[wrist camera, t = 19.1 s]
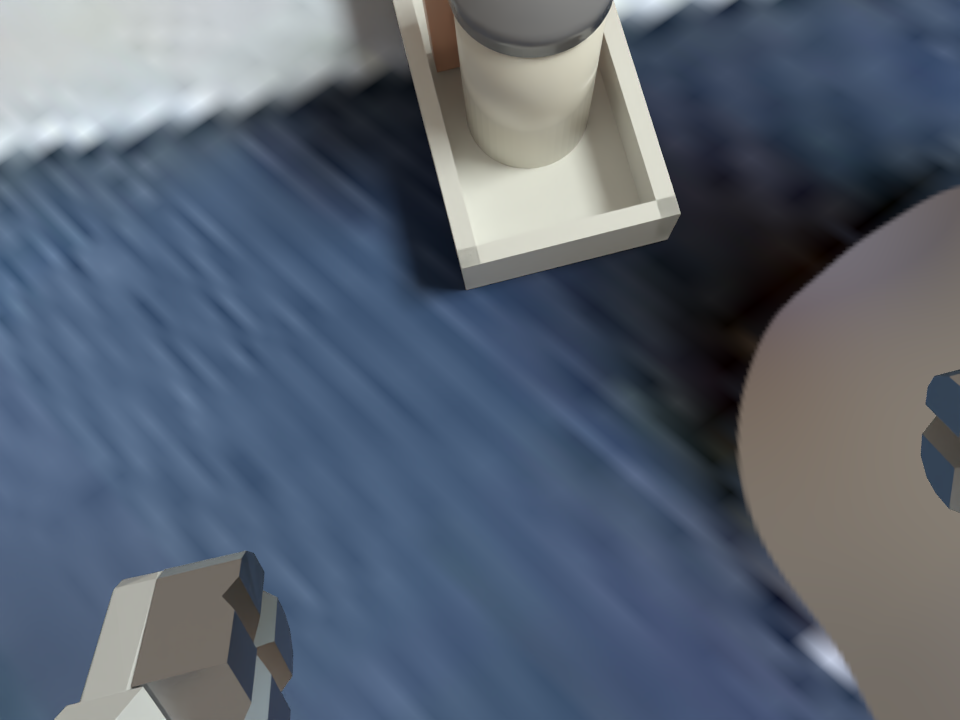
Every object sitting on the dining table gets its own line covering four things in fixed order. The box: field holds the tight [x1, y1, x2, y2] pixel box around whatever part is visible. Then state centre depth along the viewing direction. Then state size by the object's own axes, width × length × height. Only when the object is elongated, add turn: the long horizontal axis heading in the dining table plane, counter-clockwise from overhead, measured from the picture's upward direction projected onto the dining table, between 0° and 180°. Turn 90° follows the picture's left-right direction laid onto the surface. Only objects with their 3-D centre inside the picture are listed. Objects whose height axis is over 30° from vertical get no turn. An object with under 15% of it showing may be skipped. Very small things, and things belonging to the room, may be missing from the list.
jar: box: [448, 0, 613, 169], centre depth 33 cm, size 6×6×11 cm
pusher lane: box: [392, 0, 681, 290], centre depth 34 cm, size 9×20×10 cm, turn 14°
